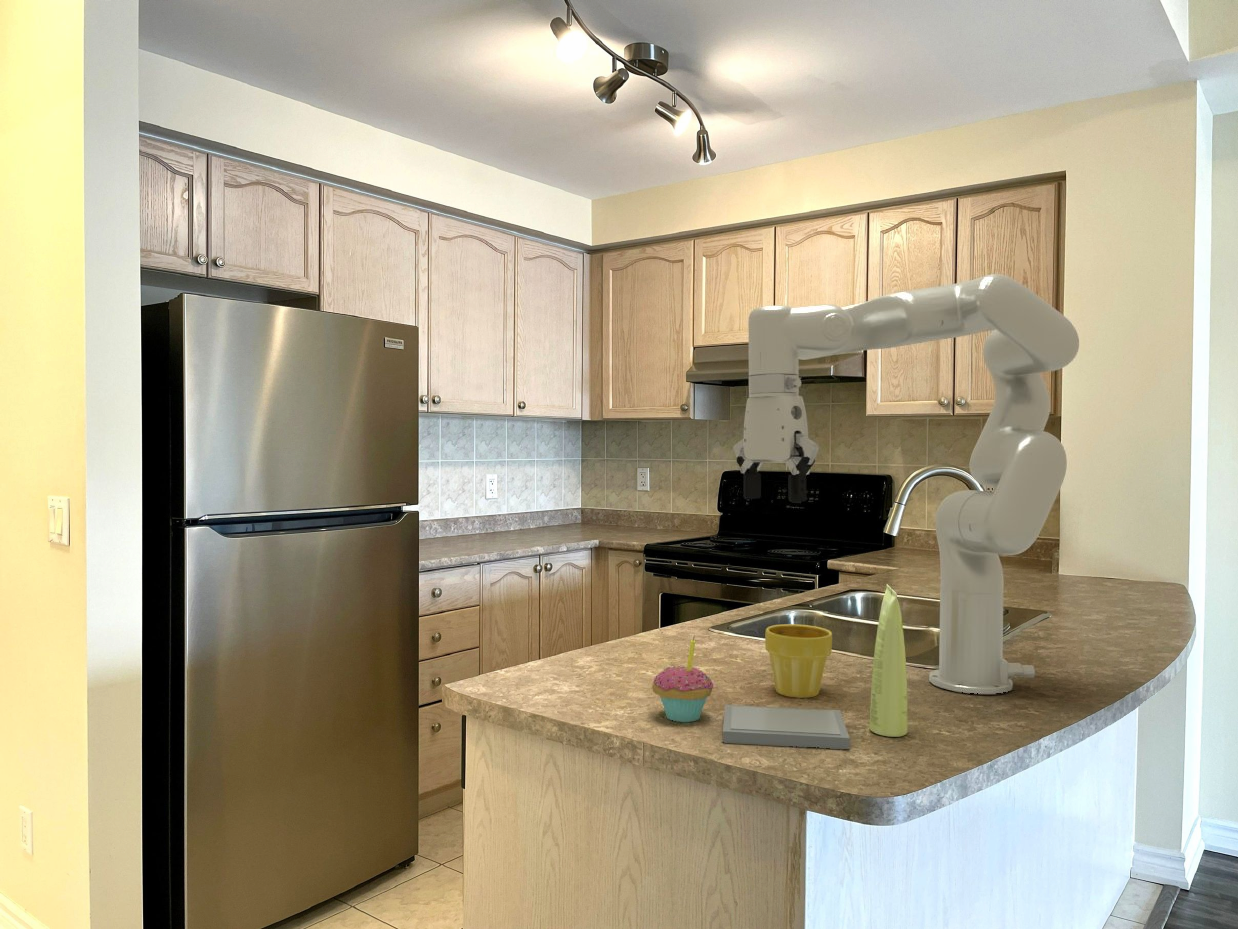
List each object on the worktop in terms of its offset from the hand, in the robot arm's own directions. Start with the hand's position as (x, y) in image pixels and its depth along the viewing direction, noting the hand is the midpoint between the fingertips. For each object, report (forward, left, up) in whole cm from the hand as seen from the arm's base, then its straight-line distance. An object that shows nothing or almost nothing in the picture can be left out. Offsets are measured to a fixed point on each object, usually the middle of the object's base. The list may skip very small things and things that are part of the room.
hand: (774, 499), depth 134 cm
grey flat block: (-1, +17, -30) cm, 35 cm away
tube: (-15, +15, -31) cm, 37 cm away
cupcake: (+13, +13, -31) cm, 36 cm away
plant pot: (-4, -3, -31) cm, 31 cm away
